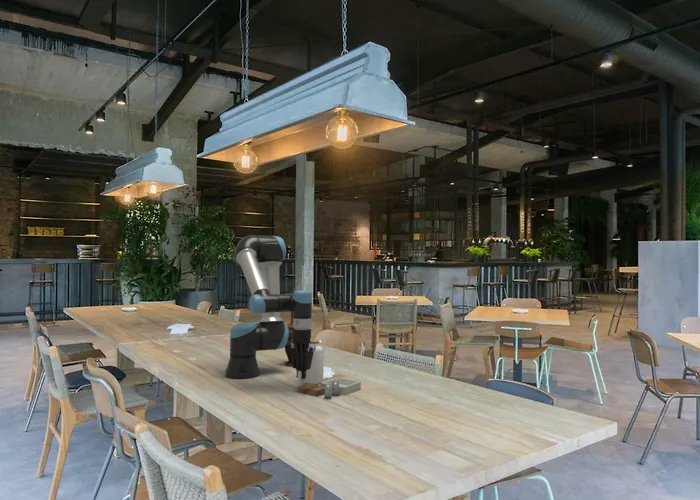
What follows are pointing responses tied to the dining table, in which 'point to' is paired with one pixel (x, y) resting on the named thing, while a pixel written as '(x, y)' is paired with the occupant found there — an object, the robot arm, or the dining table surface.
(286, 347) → the vase
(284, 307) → the robot arm
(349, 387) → the tray
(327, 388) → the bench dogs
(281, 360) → the dining table surface
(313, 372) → the potion bottle
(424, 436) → the dining table surface
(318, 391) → the tan wooden board
